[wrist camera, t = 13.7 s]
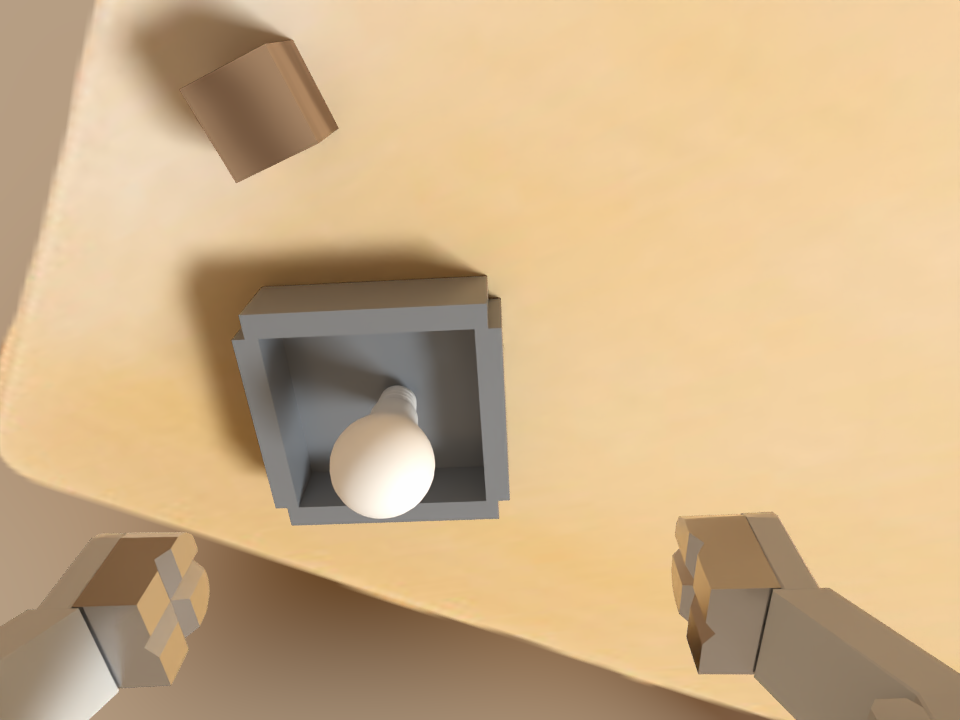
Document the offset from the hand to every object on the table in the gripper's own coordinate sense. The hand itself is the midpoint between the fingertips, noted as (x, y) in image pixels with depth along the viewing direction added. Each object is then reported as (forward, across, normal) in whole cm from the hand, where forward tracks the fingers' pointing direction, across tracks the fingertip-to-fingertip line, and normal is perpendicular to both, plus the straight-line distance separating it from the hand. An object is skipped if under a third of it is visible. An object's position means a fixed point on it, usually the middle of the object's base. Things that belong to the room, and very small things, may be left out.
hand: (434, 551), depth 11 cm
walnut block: (+31, +11, -4) cm, 33 cm away
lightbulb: (+31, +6, +15) cm, 35 cm away
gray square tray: (+31, +7, +15) cm, 35 cm away
